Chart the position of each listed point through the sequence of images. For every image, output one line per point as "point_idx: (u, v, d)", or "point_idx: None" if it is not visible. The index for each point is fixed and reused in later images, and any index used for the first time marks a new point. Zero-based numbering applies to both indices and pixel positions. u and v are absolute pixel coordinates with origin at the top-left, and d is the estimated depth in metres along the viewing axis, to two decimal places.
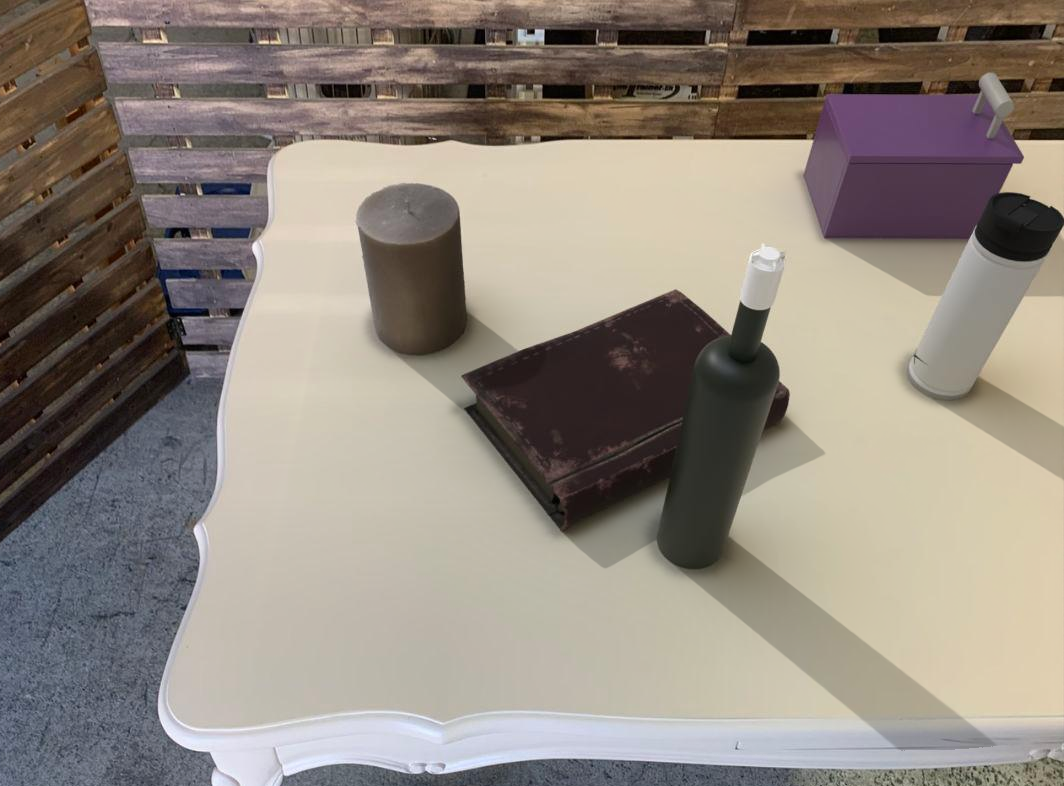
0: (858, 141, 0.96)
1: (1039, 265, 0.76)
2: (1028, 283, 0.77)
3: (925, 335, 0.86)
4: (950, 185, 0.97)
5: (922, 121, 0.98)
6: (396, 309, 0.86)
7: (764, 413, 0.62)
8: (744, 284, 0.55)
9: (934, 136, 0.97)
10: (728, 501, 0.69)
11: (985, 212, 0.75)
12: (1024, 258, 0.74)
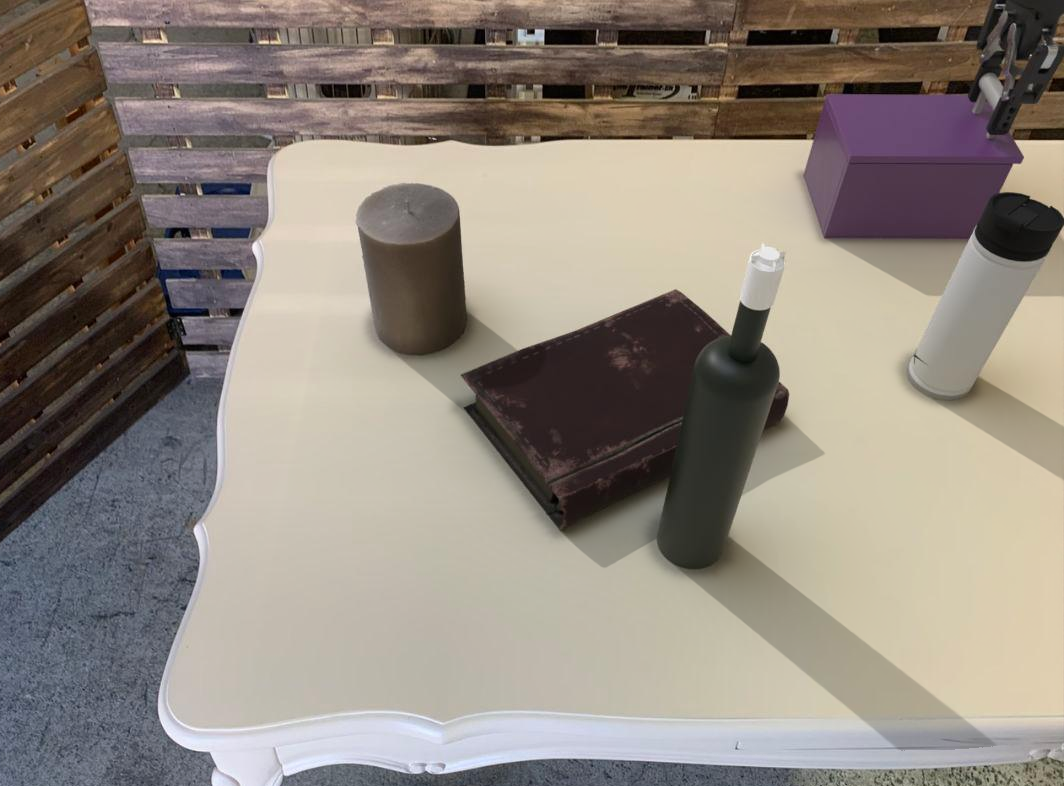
0: (858, 141, 0.96)
1: (1039, 265, 0.76)
2: (1028, 283, 0.77)
3: (925, 335, 0.86)
4: (950, 185, 0.97)
5: (922, 121, 0.98)
6: (396, 309, 0.86)
7: (764, 414, 0.62)
8: (744, 284, 0.55)
9: (934, 136, 0.97)
10: (728, 501, 0.69)
11: (985, 212, 0.75)
12: (1024, 258, 0.74)
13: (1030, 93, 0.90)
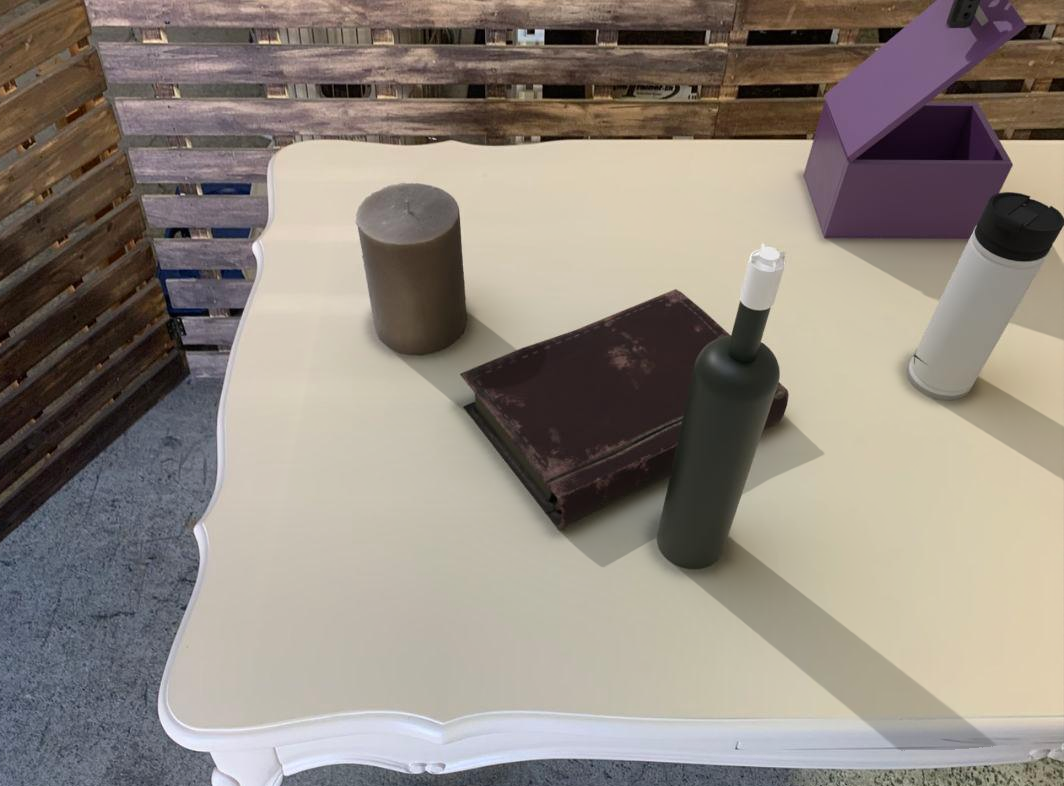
0: (853, 132, 0.95)
1: (1039, 265, 0.76)
2: (1028, 283, 0.77)
3: (925, 335, 0.86)
4: (950, 185, 0.97)
5: (914, 57, 0.93)
6: (396, 309, 0.86)
7: (764, 414, 0.62)
8: (744, 284, 0.55)
9: (926, 68, 0.91)
10: (728, 501, 0.69)
11: (985, 212, 0.75)
12: (1024, 258, 0.74)
13: None
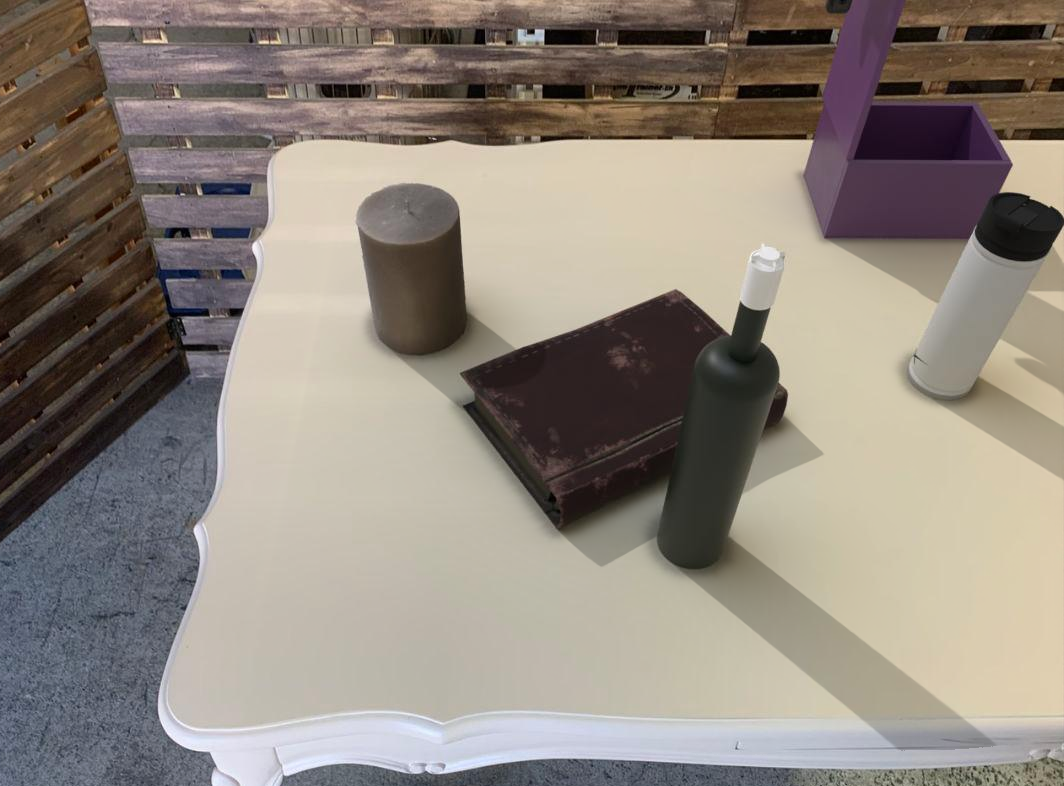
0: (844, 131, 0.95)
1: (1039, 265, 0.76)
2: (1028, 283, 0.77)
3: (925, 335, 0.86)
4: (950, 185, 0.97)
5: (859, 35, 0.91)
6: (396, 309, 0.86)
7: (764, 413, 0.62)
8: (744, 284, 0.55)
9: (867, 44, 0.89)
10: (728, 501, 0.69)
11: (985, 212, 0.75)
12: (1024, 258, 0.74)
13: None
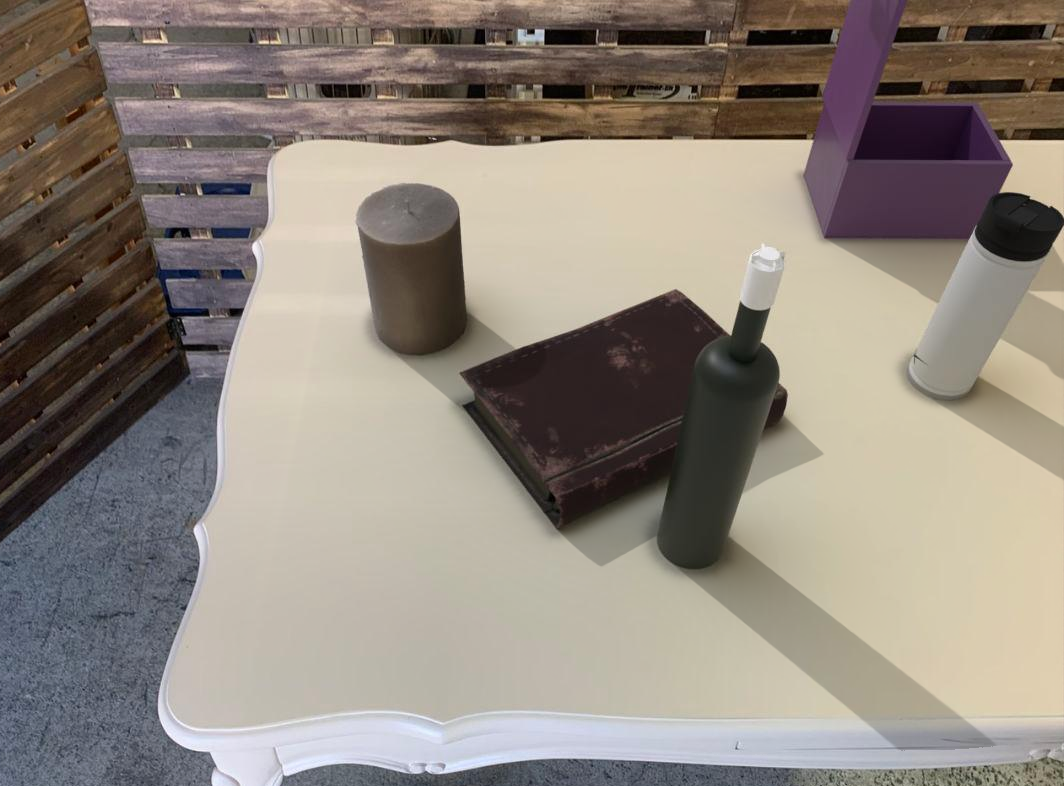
0: (844, 131, 0.95)
1: (1039, 265, 0.76)
2: (1028, 283, 0.77)
3: (925, 335, 0.86)
4: (950, 185, 0.97)
5: (860, 35, 0.91)
6: (396, 309, 0.86)
7: (764, 414, 0.62)
8: (744, 284, 0.55)
9: (868, 44, 0.89)
10: (728, 501, 0.69)
11: (985, 212, 0.75)
12: (1024, 258, 0.74)
13: None
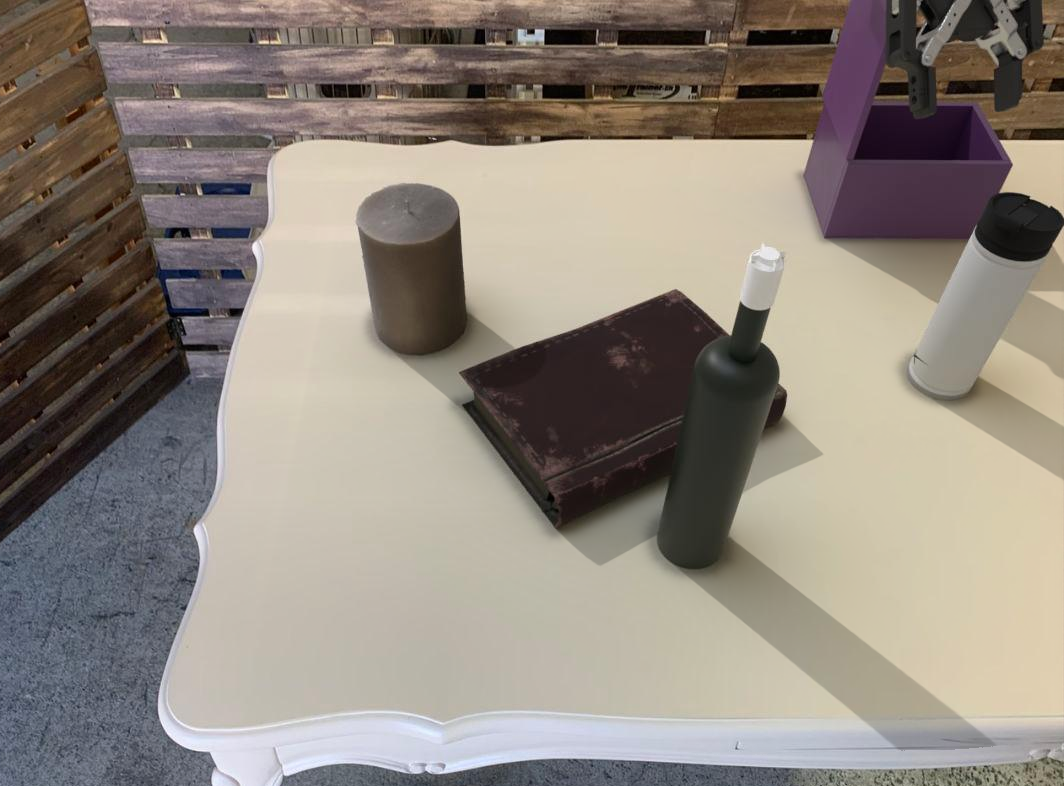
0: (844, 131, 0.95)
1: (1039, 265, 0.76)
2: (1028, 283, 0.77)
3: (925, 335, 0.86)
4: (950, 185, 0.97)
5: (860, 35, 0.91)
6: (396, 309, 0.86)
7: (764, 414, 0.62)
8: (744, 284, 0.55)
9: (868, 44, 0.89)
10: (728, 501, 0.69)
11: (985, 212, 0.75)
12: (1024, 258, 0.74)
13: (899, 48, 0.77)
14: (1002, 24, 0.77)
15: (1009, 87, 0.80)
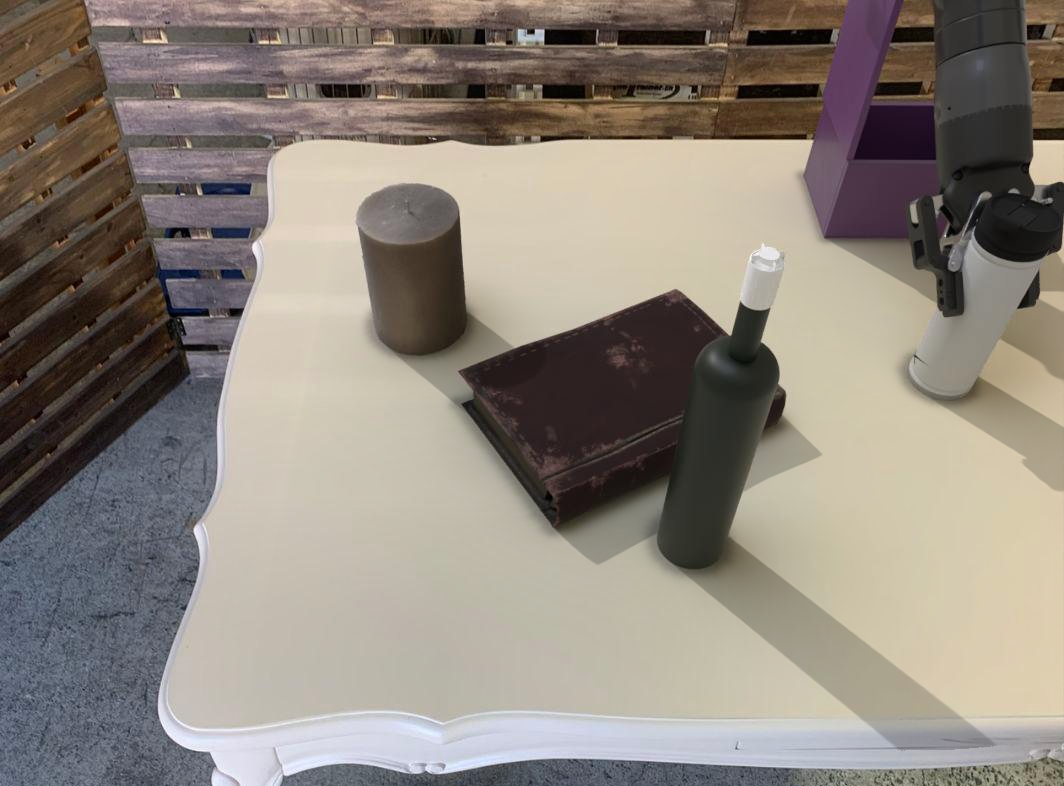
0: (844, 131, 0.95)
1: (1038, 266, 0.76)
2: (1027, 283, 0.77)
3: (925, 335, 0.86)
4: None
5: (858, 35, 0.91)
6: (396, 309, 0.86)
7: (764, 414, 0.62)
8: (744, 284, 0.55)
9: (866, 44, 0.89)
10: (728, 501, 0.69)
11: (984, 213, 0.75)
12: (1023, 259, 0.74)
13: None
14: None
15: None
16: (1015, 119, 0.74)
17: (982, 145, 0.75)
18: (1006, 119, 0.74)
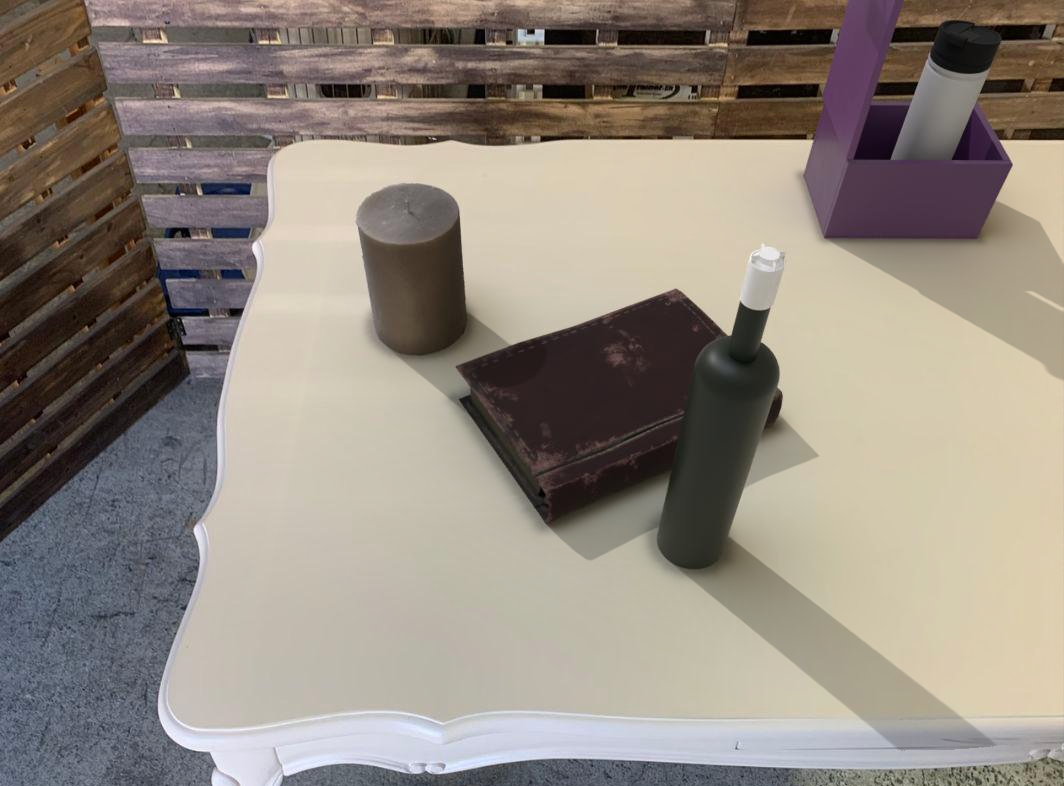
0: (844, 131, 0.95)
1: (982, 79, 0.92)
2: (974, 96, 0.93)
3: (892, 156, 1.02)
4: (950, 185, 0.97)
5: (858, 35, 0.91)
6: (396, 309, 0.86)
7: (764, 414, 0.62)
8: (744, 284, 0.55)
9: (866, 44, 0.89)
10: (728, 501, 0.69)
11: (937, 34, 0.91)
12: (969, 71, 0.91)
13: None
14: None
15: None
16: None
17: None
18: None
